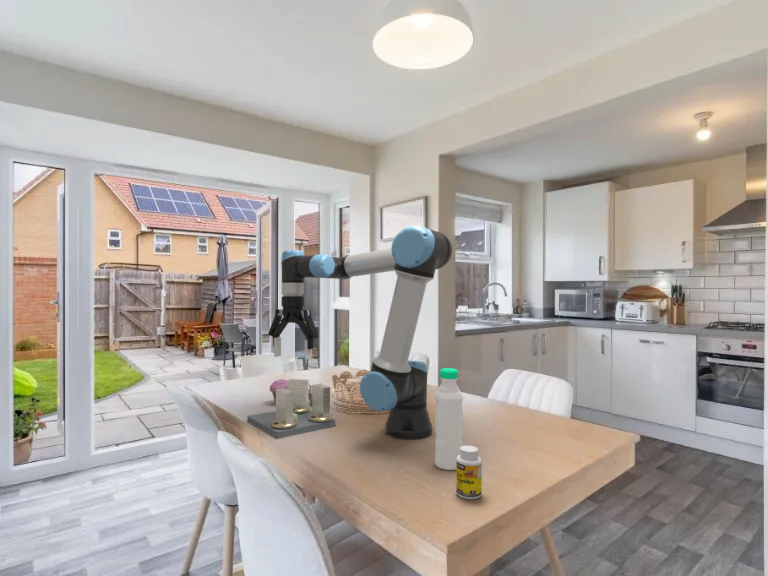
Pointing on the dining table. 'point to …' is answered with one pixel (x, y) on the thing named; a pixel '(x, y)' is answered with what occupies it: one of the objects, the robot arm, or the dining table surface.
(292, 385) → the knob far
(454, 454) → the water bottle
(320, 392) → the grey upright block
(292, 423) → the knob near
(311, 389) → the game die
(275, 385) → the cupcake
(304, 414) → the board
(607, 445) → the dining table surface
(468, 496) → the supplement bottle
